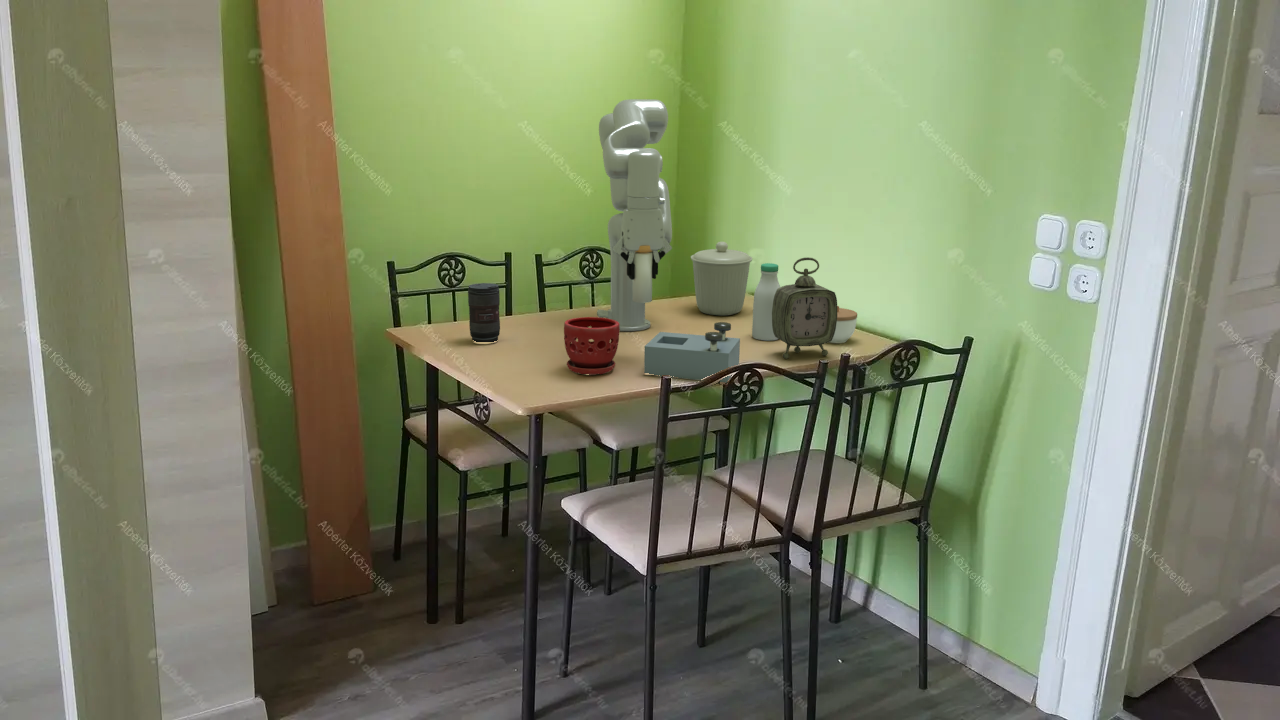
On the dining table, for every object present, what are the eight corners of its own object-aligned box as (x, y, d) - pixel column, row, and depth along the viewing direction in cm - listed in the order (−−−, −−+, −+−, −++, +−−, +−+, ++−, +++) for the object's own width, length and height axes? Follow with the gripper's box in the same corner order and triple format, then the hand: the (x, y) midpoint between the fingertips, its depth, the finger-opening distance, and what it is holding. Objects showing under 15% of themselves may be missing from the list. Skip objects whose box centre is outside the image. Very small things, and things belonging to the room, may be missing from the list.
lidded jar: (807, 337, 271) (809, 303, 268) (842, 334, 274) (844, 300, 271) (827, 347, 261) (829, 312, 258) (863, 343, 264) (865, 309, 262)
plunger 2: (711, 354, 240) (712, 325, 238) (715, 350, 244) (716, 321, 242) (728, 355, 239) (729, 326, 237) (731, 351, 243) (732, 322, 241)
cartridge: (629, 299, 248) (630, 243, 244) (649, 298, 249) (649, 242, 246) (635, 303, 244) (635, 246, 240) (654, 302, 245) (655, 245, 241)
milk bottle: (779, 342, 265) (783, 267, 259) (750, 340, 267) (753, 266, 261) (781, 334, 272) (785, 262, 267) (753, 333, 274) (756, 261, 268)
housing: (644, 374, 236) (644, 346, 234) (659, 359, 248) (660, 331, 246) (727, 382, 230) (728, 353, 228) (738, 366, 243) (740, 338, 241)
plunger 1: (702, 365, 231) (703, 335, 229) (706, 361, 235) (707, 331, 233) (719, 367, 230) (720, 337, 228) (723, 362, 233) (724, 332, 231)
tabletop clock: (781, 361, 247) (786, 261, 240) (767, 351, 256) (771, 255, 249) (834, 357, 251) (841, 259, 244) (818, 348, 260) (824, 252, 253)
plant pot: (620, 377, 233) (621, 328, 230) (564, 378, 232) (563, 328, 229) (617, 362, 246) (618, 314, 242) (564, 362, 245) (563, 315, 241)
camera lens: (506, 339, 265) (505, 284, 261) (489, 346, 258) (488, 289, 254) (481, 335, 268) (479, 281, 264) (463, 343, 261) (461, 286, 257)
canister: (677, 313, 295) (679, 242, 289) (709, 302, 309) (711, 234, 303) (730, 322, 285) (733, 249, 279) (761, 310, 299) (764, 240, 294)
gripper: (672, 201, 245) (671, 274, 250) (605, 202, 241) (605, 276, 246) (681, 204, 238) (679, 279, 243) (611, 206, 234) (611, 282, 239)
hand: (642, 277), depth 245 cm, fingers closed on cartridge, 4 cm apart
